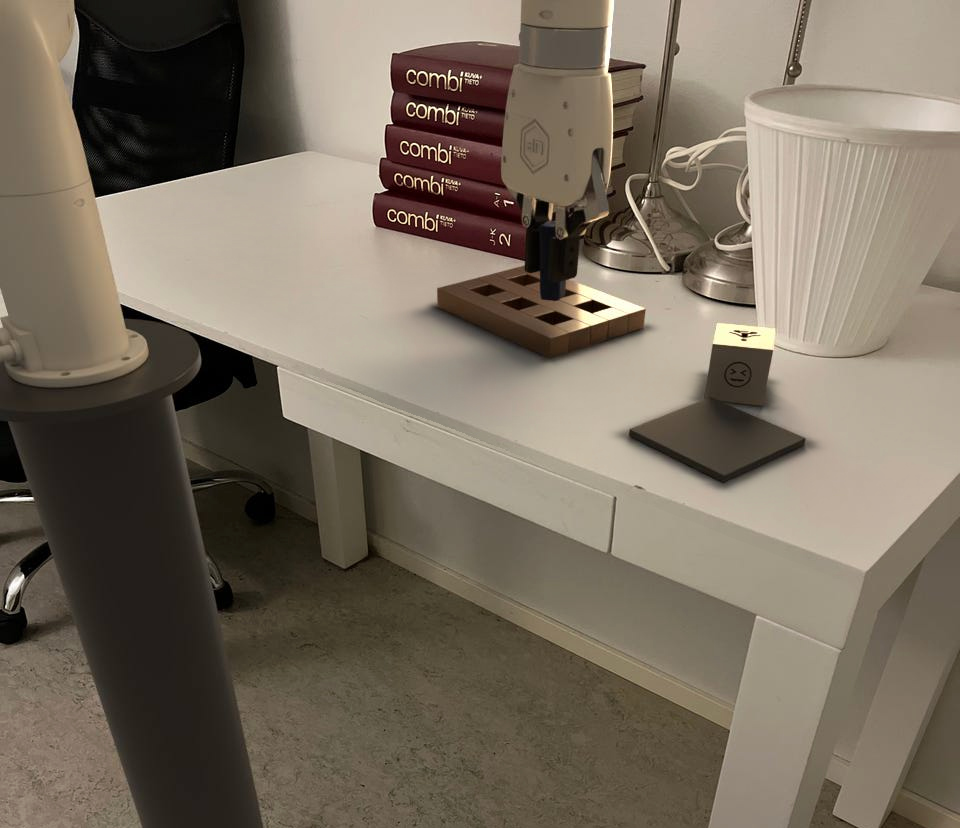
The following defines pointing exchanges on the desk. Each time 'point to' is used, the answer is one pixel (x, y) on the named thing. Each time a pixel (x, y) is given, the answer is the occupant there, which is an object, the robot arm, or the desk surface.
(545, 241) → the eraser
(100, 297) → the robot arm
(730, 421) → the coaster
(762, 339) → the dice cube
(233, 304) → the desk surface
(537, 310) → the holder
